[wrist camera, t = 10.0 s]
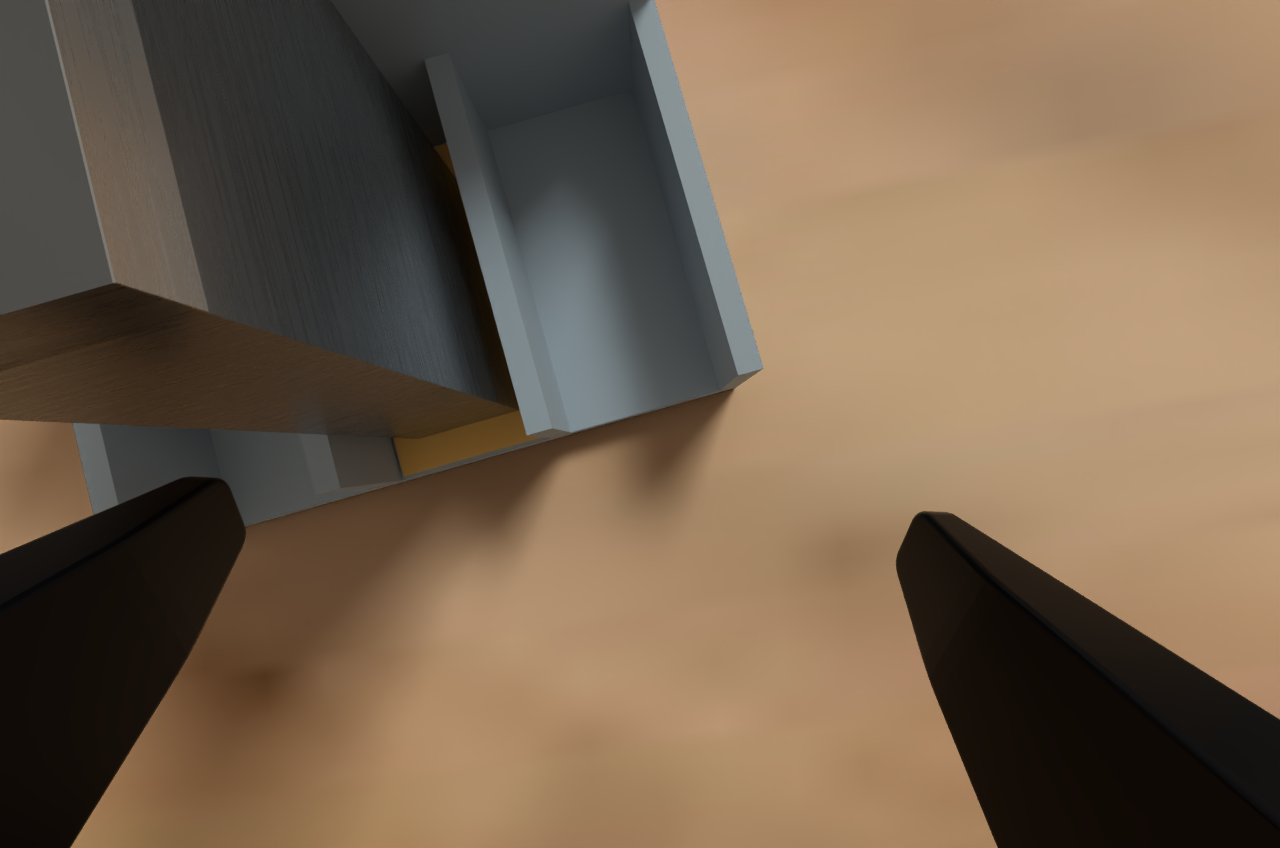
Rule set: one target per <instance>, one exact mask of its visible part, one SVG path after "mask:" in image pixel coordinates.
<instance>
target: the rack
mask: <svg viewBox="0 0 1280 848" xmlns="http://www.w3.org/2000/svg"><path fill="white" fill-rule="evenodd" d="M331 2H332V3H333V4H334V6H335V7H336V9H337V10H338V12H339V13H340V14H341V16H342V17H343V19H344V20H345V22H346V23H347V24H348V26H349V27H350V29H351V30H352V32H353V33H354V34H355V36H356V37H357V39H358V40H359V41H360V43H361V44H362V46H363V47H364V49H365V50H366V51H367V53H368V54H369V56H370V57H371V59H372V60H373V61H374V63H375V64H376V66H377V67H378V69H379V70H380V71H381V73H382V74H383V76H384V77H385V78H386V80H387V81H388V83H389V84H390V86H391V87H392V88H393V90H394V91H395V93H396V94H397V96H398V97H399V98H400V100H401V101H402V103H403V104H404V106H405V107H406V108H407V110H408V111H409V113H410V114H411V115H412V117H413V118H414V120H415V121H416V123H417V124H418V125H419V127H420V128H421V130H422V131H423V133H424V134H425V135H426V137H427V138H428V140H429V141H430V143H431V144H432V145H433V147H434V148H435V150H436V151H437V152H438V154H439V155H440V157H441V158H442V160H443V161H444V162H445V164H446V165H447V167H448V168H449V170H450V171H451V172H452V174H453V175H454V177H455V178H456V181H457V184H458V188H459V191H460V195H461V199H462V202H463V206H464V210H465V213H466V217H467V221H468V224H469V228H470V232H471V235H472V239H473V242H474V246H475V250H476V253H477V257H478V261H479V264H480V268H481V272H482V275H483V279H484V283H485V286H486V290H487V293H488V297H489V301H490V304H491V308H492V312H493V315H494V319H495V323H496V326H497V330H498V334H499V337H500V341H501V344H502V348H503V352H504V355H505V359H506V363H507V366H508V370H509V374H510V377H511V381H512V385H513V388H514V392H515V396H516V399H517V403H518V406H519V410H518V411H515V412H511V413H508V414H504V415H501V416H497V417H494V418H490V419H487V420H483V421H480V422H476V423H473V424H469V425H466V426H462V427H459V428H455V429H452V430H448V431H445V432H441V433H438V434H434V435H431V436H427V437H424V438H420V439H405V438H384V437H363V436H342V435H320V434H299V433H278V432H256V431H235V430H214V429H192V428H171V427H150V426H128V425H107V424H86V423H72V424H73V428H74V432H75V436H76V441H77V445H78V449H79V454H80V458H81V462H82V467H83V471H84V475H85V479H86V484H87V488H88V492H89V497H90V501H91V505H92V510H93V514H97V513H99V512H102V511H104V510H106V509H109V508H111V507H113V506H116V505H118V504H120V503H123V502H125V501H127V500H130V499H132V498H135V497H137V496H139V495H142V494H144V493H146V492H149V491H151V490H153V489H156V488H158V487H161V486H163V485H165V484H168V483H170V482H172V481H175V480H177V479H180V478H182V477H188V476H197V477H216V478H220V479H223V480H224V481H225V482H226V483H227V484H228V485H229V487H230V489H231V491H232V494H233V496H234V499H235V501H236V504H237V506H238V509H239V512H240V514H241V517H242V519H243V522H244V524H245V527H246V526H250V525H254V524H257V523H261V522H264V521H268V520H271V519H275V518H278V517H282V516H285V515H289V514H292V513H296V512H299V511H303V510H306V509H310V508H313V507H317V506H321V505H324V504H328V503H331V502H335V501H338V500H342V499H345V498H349V497H352V496H356V495H359V494H363V493H366V492H370V491H373V490H377V489H380V488H384V487H388V486H391V485H395V484H398V483H402V482H405V481H409V480H412V479H416V478H419V477H423V476H426V475H430V474H433V473H437V472H440V471H444V470H448V469H451V468H455V467H458V466H462V465H465V464H469V463H472V462H476V461H479V460H483V459H486V458H490V457H493V456H497V455H500V454H504V453H507V452H511V451H515V450H518V449H522V448H525V447H529V446H532V445H536V444H539V443H543V442H546V441H550V440H553V439H557V438H560V437H564V436H567V435H571V434H574V433H578V432H582V431H585V430H589V429H592V428H596V427H599V426H603V425H606V424H610V423H613V422H617V421H620V420H624V419H627V418H631V417H634V416H638V415H641V414H645V413H649V412H652V411H656V410H659V409H663V408H666V407H670V406H673V405H677V404H680V403H684V402H687V401H691V400H694V399H698V398H701V397H705V396H709V395H712V394H716V393H719V392H723V391H726V390H730V389H733V388H736V387H737V386H739V385H740V384H742V383H743V382H745V381H746V380H747V379H749V378H750V377H752V376H753V375H755V374H756V373H757V372H759V371H760V370H762V369H763V365H762V361H761V358H760V355H759V351H758V348H757V345H756V341H755V338H754V334H753V331H752V328H751V324H750V321H749V318H748V314H747V311H746V307H745V304H744V301H743V297H742V294H741V291H740V287H739V284H738V280H737V277H736V274H735V270H734V267H733V264H732V260H731V257H730V253H729V250H728V247H727V243H726V240H725V237H724V233H723V230H722V226H721V223H720V220H719V216H718V213H717V210H716V206H715V203H714V199H713V196H712V193H711V189H710V186H709V183H708V179H707V176H706V172H705V169H704V166H703V162H702V159H701V156H700V152H699V149H698V145H697V142H696V139H695V135H694V132H693V129H692V125H691V122H690V118H689V115H688V112H687V108H686V105H685V102H684V98H683V95H682V91H681V88H680V85H679V81H678V78H677V75H676V71H675V68H674V64H673V61H672V58H671V54H670V51H669V48H668V44H667V41H666V37H665V34H664V31H663V27H662V24H661V21H660V17H659V14H658V10H657V7H656V4H655V0H331Z"/></svg>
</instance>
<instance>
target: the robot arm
mask: <svg viewBox="0 0 1280 848" xmlns="http://www.w3.org/2000/svg"><path fill="white" fill-rule="evenodd" d="M245 536H246V530H245V524H244V522H243V519H242V517H241V514H240V512H239V509H238V506H237V504H236V501H235V499H234V496H233V494H232V491H231V489H230V487H229V485H228V484H227V483H226V482H225V481H224V480H223V479H220V478H216V477H197V476H188V477H182V478H180V479H177V480H175V481H172V482H170V483H168V484H165V485H163V486H161V487H158V488H156V489H153V490H151V491H149V492H146V493H144V494H142V495H139V496H137V497H135V498H132V499H130V500H127V501H125V502H123V503H120V504H118V505H116V506H113V507H111V508H109V509H106V510H104V511H102V512H99V513H97V514H94V515H92V516H90V517H87V518H85V519H83V520H80V521H78V522H76V523H73V524H71V525H68V526H66V527H64V528H61V529H59V530H57V531H54V532H52V533H50V534H47V535H45V536H42V537H40V538H38V539H35V540H33V541H31V542H28V543H26V544H24V545H21V546H19V547H16V548H14V549H12V550H9V551H7V552H5V553H2V554H0V848H70V847H71V846H72V844H73V843H74V841H75V839H76V838H77V836H78V834H79V833H80V831H81V830H82V828H83V826H84V825H85V823H86V822H87V820H88V818H89V817H90V815H91V814H92V812H93V810H94V809H95V807H96V805H97V804H98V802H99V801H100V799H101V797H102V796H103V794H104V793H105V791H106V789H107V788H108V786H109V784H110V783H111V781H112V780H113V778H114V776H115V775H116V773H117V772H118V770H119V768H120V767H121V765H122V764H123V762H124V760H125V759H126V757H127V755H128V754H129V752H130V751H131V749H132V747H133V746H134V744H135V743H136V741H137V739H138V738H139V736H140V734H141V733H142V731H143V730H144V728H145V726H146V725H147V723H148V722H149V720H150V718H151V717H152V715H153V714H154V712H155V710H156V709H157V707H158V705H159V704H160V702H161V701H162V699H163V697H164V696H165V694H166V693H167V691H168V689H169V688H170V686H171V684H172V683H173V681H174V680H175V678H176V676H177V675H178V673H179V671H180V670H181V668H182V666H183V665H184V663H185V661H186V659H187V658H188V656H189V654H190V652H191V650H192V648H193V646H194V645H195V643H196V641H197V639H198V637H199V635H200V633H201V631H202V629H203V627H204V625H205V623H206V621H207V619H208V617H209V615H210V613H211V611H212V608H213V606H214V604H215V602H216V600H217V598H218V596H219V594H220V592H221V590H222V588H223V586H224V584H225V582H226V580H227V578H228V576H229V574H230V572H231V570H232V568H233V566H234V564H235V561H236V559H237V557H238V555H239V553H240V551H241V549H242V547H243V544H244V541H245ZM896 569H897V574H898V578H899V581H900V584H901V588H902V591H903V595H904V598H905V601H906V605H907V608H908V612H909V615H910V618H911V622H912V625H913V629H914V632H915V635H916V639H917V642H918V646H919V649H920V652H921V656H922V659H923V662H924V665H925V668H926V671H927V674H928V677H929V680H930V683H931V685H932V688H933V690H934V693H935V696H936V698H937V701H938V703H939V705H940V708H941V710H942V713H943V715H944V718H945V720H946V723H947V725H948V727H949V730H950V732H951V735H952V737H953V740H954V742H955V745H956V747H957V749H958V752H959V754H960V757H961V759H962V762H963V764H964V767H965V769H966V771H967V774H968V776H969V779H970V781H971V784H972V786H973V789H974V791H975V793H976V796H977V798H978V801H979V803H980V806H981V808H982V811H983V813H984V815H985V818H986V820H987V823H988V825H989V828H990V830H991V833H992V835H993V837H994V840H995V842H996V845H997V847H998V848H1280V719H1278V718H1277V717H1275V716H1273V715H1272V714H1270V713H1269V712H1267V711H1265V710H1264V709H1262V708H1261V707H1259V706H1257V705H1256V704H1254V703H1253V702H1251V701H1250V700H1248V699H1246V698H1245V697H1243V696H1242V695H1240V694H1238V693H1237V692H1235V691H1234V690H1232V689H1230V688H1229V687H1227V686H1226V685H1224V684H1222V683H1221V682H1219V681H1218V680H1216V679H1215V678H1213V677H1211V676H1210V675H1208V674H1207V673H1205V672H1203V671H1202V670H1200V669H1199V668H1197V667H1195V666H1194V665H1192V664H1191V663H1189V662H1187V661H1186V660H1184V659H1183V658H1181V657H1180V656H1178V655H1176V654H1175V653H1173V652H1172V651H1170V650H1168V649H1167V648H1165V647H1164V646H1162V645H1160V644H1159V643H1157V642H1156V641H1154V640H1152V639H1151V638H1149V637H1148V636H1146V635H1145V634H1143V633H1141V632H1140V631H1138V630H1137V629H1135V628H1133V627H1132V626H1130V625H1129V624H1127V623H1125V622H1124V621H1122V620H1121V619H1119V618H1118V617H1116V616H1114V615H1113V614H1111V613H1110V612H1108V611H1106V610H1105V609H1103V608H1102V607H1100V606H1098V605H1097V604H1095V603H1094V602H1092V601H1091V600H1089V599H1087V598H1086V597H1084V596H1083V595H1081V594H1079V593H1078V592H1076V591H1075V590H1073V589H1071V588H1070V587H1068V586H1067V585H1065V584H1064V583H1062V582H1060V581H1059V580H1057V579H1056V578H1054V577H1052V576H1051V575H1049V574H1048V573H1046V572H1044V571H1043V570H1041V569H1040V568H1038V567H1036V566H1035V565H1033V564H1032V563H1030V562H1029V561H1027V560H1025V559H1024V558H1022V557H1021V556H1019V555H1017V554H1016V553H1014V552H1013V551H1011V550H1009V549H1008V548H1006V547H1005V546H1003V545H1002V544H1000V543H998V542H997V541H995V540H994V539H992V538H990V537H989V536H987V535H986V534H984V533H982V532H981V531H979V530H978V529H976V528H975V527H973V526H971V525H970V524H968V523H967V522H965V521H963V520H962V519H960V518H959V517H957V516H955V515H954V514H951V513H948V512H932V511H923V512H919V513H918V514H917V515H916V516H914V518H913V520H912V522H911V524H910V527H909V529H908V531H907V533H906V536H905V538H904V540H903V542H902V545H901V547H900V549H899V551H898V554H897V558H896Z"/></svg>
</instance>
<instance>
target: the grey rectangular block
mask: <svg viewBox="0 0 1280 848" xmlns="http://www.w3.org/2000/svg"><path fill="white" fill-rule="evenodd" d="M518 410H519V406H518V403H517V399H516V396H515V392H514V388H513V385H512V381H511V377H510V374H509V370H508V366H507V363H506V359H505V355H504V352H503V348H502V344H501V341H500V337H499V334H498V330H497V326H496V323H495V319H494V315H493V312H492V308H491V304H490V301H489V297H488V293H487V290H486V286H485V283H484V279H483V275H482V272H481V268H480V264H479V261H478V257H477V253H476V250H475V246H474V242H473V239H472V235H471V232H470V228H469V224H468V221H467V217H466V213H465V210H464V206H463V202H462V199H461V195H460V191H459V188H458V184H457V181H456V178H455V177H454V175H453V174H452V172H451V171H450V170H449V168H448V167H447V165H446V164H445V162H444V161H443V160H442V158H441V157H440V155H439V154H438V152H437V151H436V150H435V148H434V147H433V145H432V144H431V143H430V141H429V140H428V138H427V137H426V135H425V134H424V133H423V131H422V130H421V128H420V127H419V125H418V124H417V123H416V121H415V120H414V118H413V117H412V115H411V114H410V113H409V111H408V110H407V108H406V107H405V106H404V104H403V103H402V101H401V100H400V98H399V97H398V96H397V94H396V93H395V91H394V90H393V88H392V87H391V86H390V84H389V83H388V81H387V80H386V78H385V77H384V76H383V74H382V73H381V71H380V70H379V69H378V67H377V66H376V64H375V63H374V61H373V60H372V59H371V57H370V56H369V54H368V53H367V51H366V50H365V49H364V47H363V46H362V44H361V43H360V41H359V40H358V39H357V37H356V36H355V34H354V33H353V32H352V30H351V29H350V27H349V26H348V24H347V23H346V22H345V20H344V19H343V17H342V16H341V14H340V13H339V12H338V10H337V9H336V7H335V6H334V4H333V3H332V2H331V0H0V419H1V420H22V421H43V422H65V423H86V424H107V425H128V426H150V427H171V428H192V429H214V430H235V431H256V432H278V433H299V434H320V435H342V436H363V437H384V438H405V439H420V438H424V437H427V436H431V435H434V434H438V433H441V432H445V431H448V430H452V429H455V428H459V427H462V426H466V425H469V424H473V423H476V422H480V421H483V420H487V419H490V418H494V417H497V416H501V415H504V414H508V413H511V412H515V411H518Z"/></svg>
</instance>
